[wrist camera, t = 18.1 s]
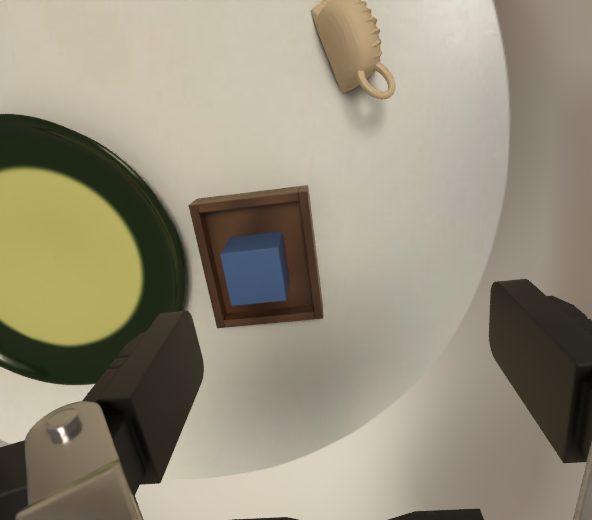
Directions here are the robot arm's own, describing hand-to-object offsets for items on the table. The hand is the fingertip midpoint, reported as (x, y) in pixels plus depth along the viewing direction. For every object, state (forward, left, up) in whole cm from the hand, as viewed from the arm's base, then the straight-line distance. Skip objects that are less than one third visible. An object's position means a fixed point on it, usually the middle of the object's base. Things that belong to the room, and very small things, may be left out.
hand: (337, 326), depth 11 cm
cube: (+7, +8, -27) cm, 29 cm away
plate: (+28, +6, -28) cm, 40 cm away
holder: (+7, +8, -28) cm, 30 cm away
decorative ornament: (-3, -9, -28) cm, 30 cm away
